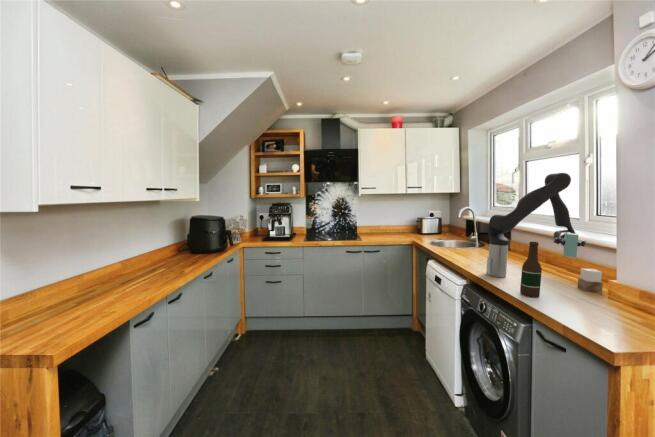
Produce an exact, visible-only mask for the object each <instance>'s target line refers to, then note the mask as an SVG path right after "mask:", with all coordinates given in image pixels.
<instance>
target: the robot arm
mask: <svg viewBox="0 0 655 437" xmlns="http://www.w3.org/2000/svg"><path fill="white" fill-rule="evenodd" d="M571 182H572V177H571V176H570V174H568V173H566V172H558V173H557V172H556V173H549V174H547V175H546V176H545V178H544V185H543V186H541V187H539V188H536V189H534V190H532V191H530V192H528V193H527V194H525V195H524V196H522V197H521V198H520V199H519V200H518V202H517V204H516V207H515V208H514V209H513V210H512V211H511V212H509V213H508V214H506V215H503V214H494V215H492V216H491V217H490V219H489V221H488V239H489V247H488V248H489V249H488V256H487V257H486V258H487V259H486V271H485V272H486V274H487V275H488V276H489V277H495V278H496V277H497V278H505V277H507V267H508V254H509V239H508V238H507V237H505V233H509V232H511V231H512V230H513V229H515V227H516V226H517V225H518V224H520V222H521V221H523V220H524V219H525V218H526V217H528V216H529V215H530V214H532V213H533V212H534V211H536V210H537V209H539V208H540V207H541V206H542V205H544V203H546V202H547V201H549V200H550V203H551V207H552V210H553V216H554V217H553V218H554V224H555V225H556V227H562V228H563V227H564V228H566V229H560V230H556V231H555V232H554V233H553V240H552V241H553V242H552V243H555V245H556V244H557V245H559V244H560V245H561V246H563V247H564V245H565V240H564V237H565V233H571V234H577V233H576V232H575V230H574V227H573V226H572V223H571V217H570V211H569V209H568V207H567V205H566V204H565V203H564V201H563V199H562V198H561V195H560V193H561V192H562V191H565V190H566V189H567V188H568V187H569V186H570V185H571ZM586 244H587V240H586V239H582V240H580V239H578V245H577V248H578V247H585V246H586Z"/></svg>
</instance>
